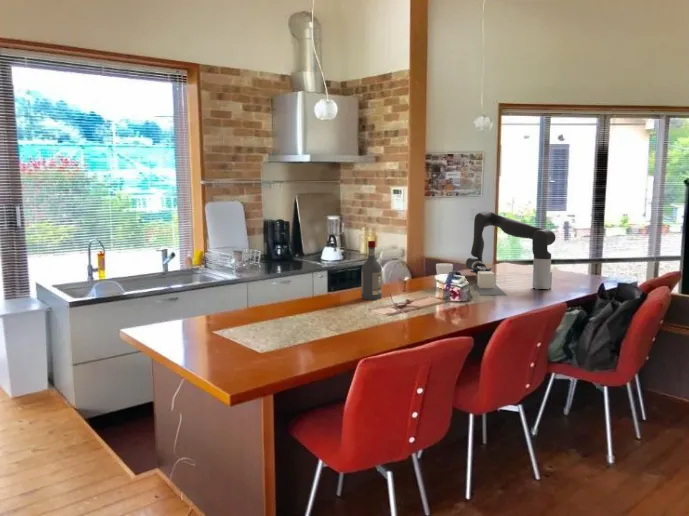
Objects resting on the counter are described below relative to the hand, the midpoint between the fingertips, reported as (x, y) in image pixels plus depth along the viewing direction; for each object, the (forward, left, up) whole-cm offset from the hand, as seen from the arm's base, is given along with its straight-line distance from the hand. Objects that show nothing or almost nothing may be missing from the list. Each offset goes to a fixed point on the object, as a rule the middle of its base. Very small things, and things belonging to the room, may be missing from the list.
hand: (483, 272), depth 337 cm
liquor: (+73, +14, -8) cm, 75 cm away
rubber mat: (+5, +14, -8) cm, 17 cm away
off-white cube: (+2, +6, -7) cm, 10 cm away
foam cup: (+24, -2, -8) cm, 26 cm away
